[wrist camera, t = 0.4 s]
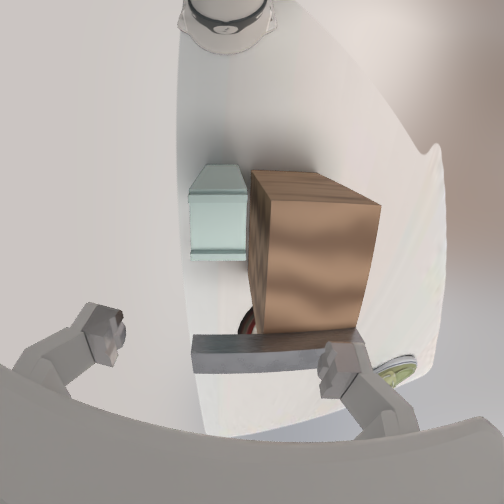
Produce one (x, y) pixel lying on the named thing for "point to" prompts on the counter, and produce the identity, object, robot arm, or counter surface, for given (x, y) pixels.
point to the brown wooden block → (308, 251)
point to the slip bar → (264, 351)
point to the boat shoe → (397, 370)
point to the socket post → (218, 214)
